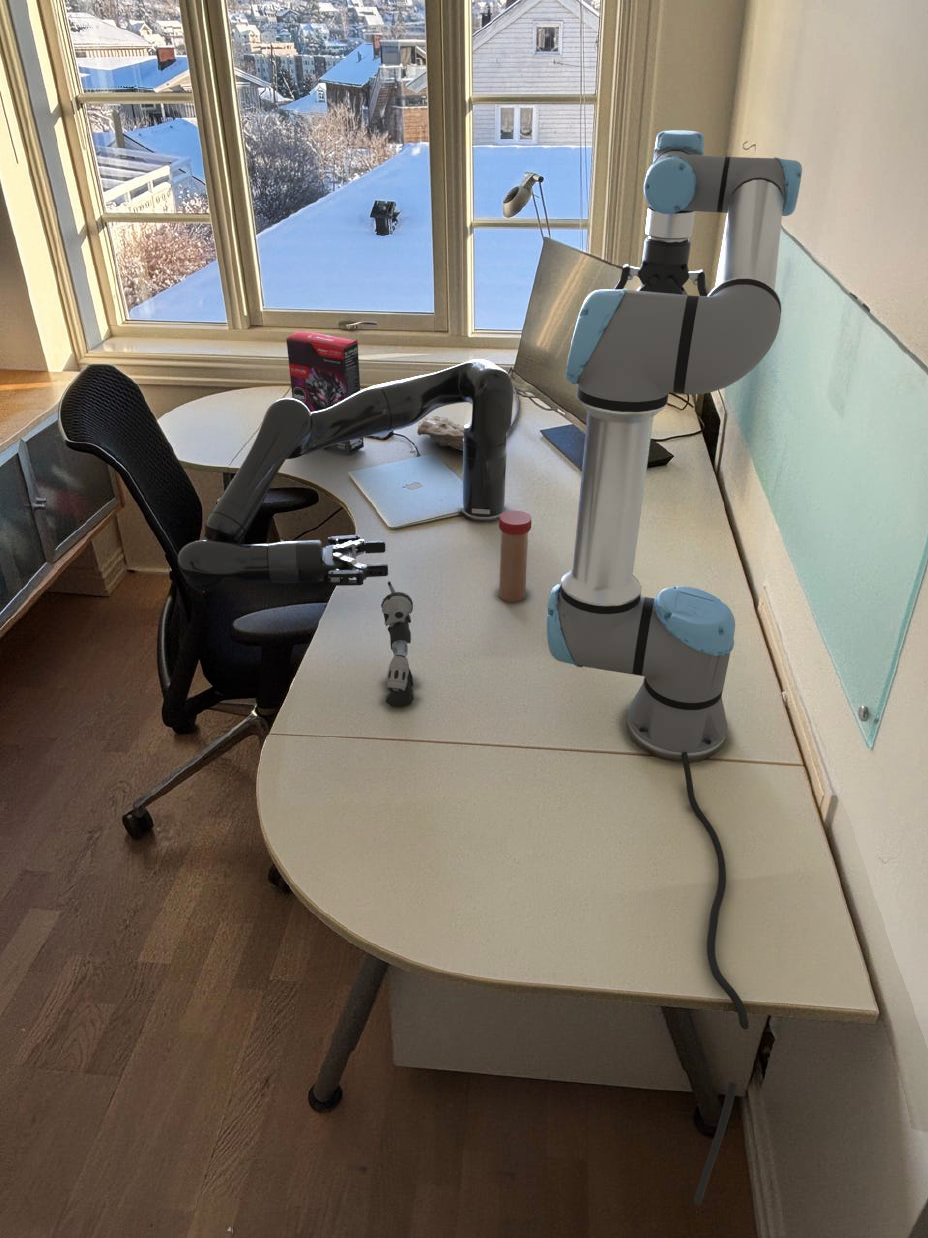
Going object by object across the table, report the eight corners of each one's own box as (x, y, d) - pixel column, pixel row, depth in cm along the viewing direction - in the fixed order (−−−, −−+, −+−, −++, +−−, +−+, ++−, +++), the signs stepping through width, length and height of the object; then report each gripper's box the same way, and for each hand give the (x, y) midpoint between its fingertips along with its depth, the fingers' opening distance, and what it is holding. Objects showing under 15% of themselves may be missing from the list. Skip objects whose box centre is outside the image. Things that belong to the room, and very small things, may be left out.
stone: (401, 440, 228) (406, 416, 226) (420, 431, 242) (425, 408, 239) (481, 464, 225) (487, 440, 222) (495, 454, 238) (501, 431, 236)
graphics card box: (294, 443, 234) (283, 336, 218) (310, 434, 239) (300, 328, 224) (350, 457, 227) (343, 347, 212) (366, 447, 232) (360, 339, 217)
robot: (415, 731, 142) (412, 624, 131) (384, 732, 142) (378, 624, 131) (414, 656, 158) (412, 555, 147) (386, 656, 158) (381, 555, 147)
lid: (533, 534, 165) (534, 524, 164) (501, 536, 165) (501, 525, 164) (528, 519, 170) (529, 509, 169) (497, 520, 170) (497, 510, 168)
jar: (526, 601, 174) (531, 525, 165) (500, 602, 173) (503, 526, 164) (522, 587, 178) (526, 512, 169) (497, 588, 177) (500, 513, 168)
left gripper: (298, 560, 172) (385, 556, 174) (296, 600, 161) (389, 596, 162) (295, 524, 168) (384, 521, 170) (292, 563, 157) (388, 559, 158)
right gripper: (746, 237, 151) (725, 364, 163) (595, 227, 157) (585, 351, 169) (746, 247, 145) (723, 378, 157) (589, 236, 151) (579, 364, 163)
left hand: (386, 557), depth 166 cm, fingers open, 8 cm apart
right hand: (652, 364), depth 163 cm, fingers open, 13 cm apart
